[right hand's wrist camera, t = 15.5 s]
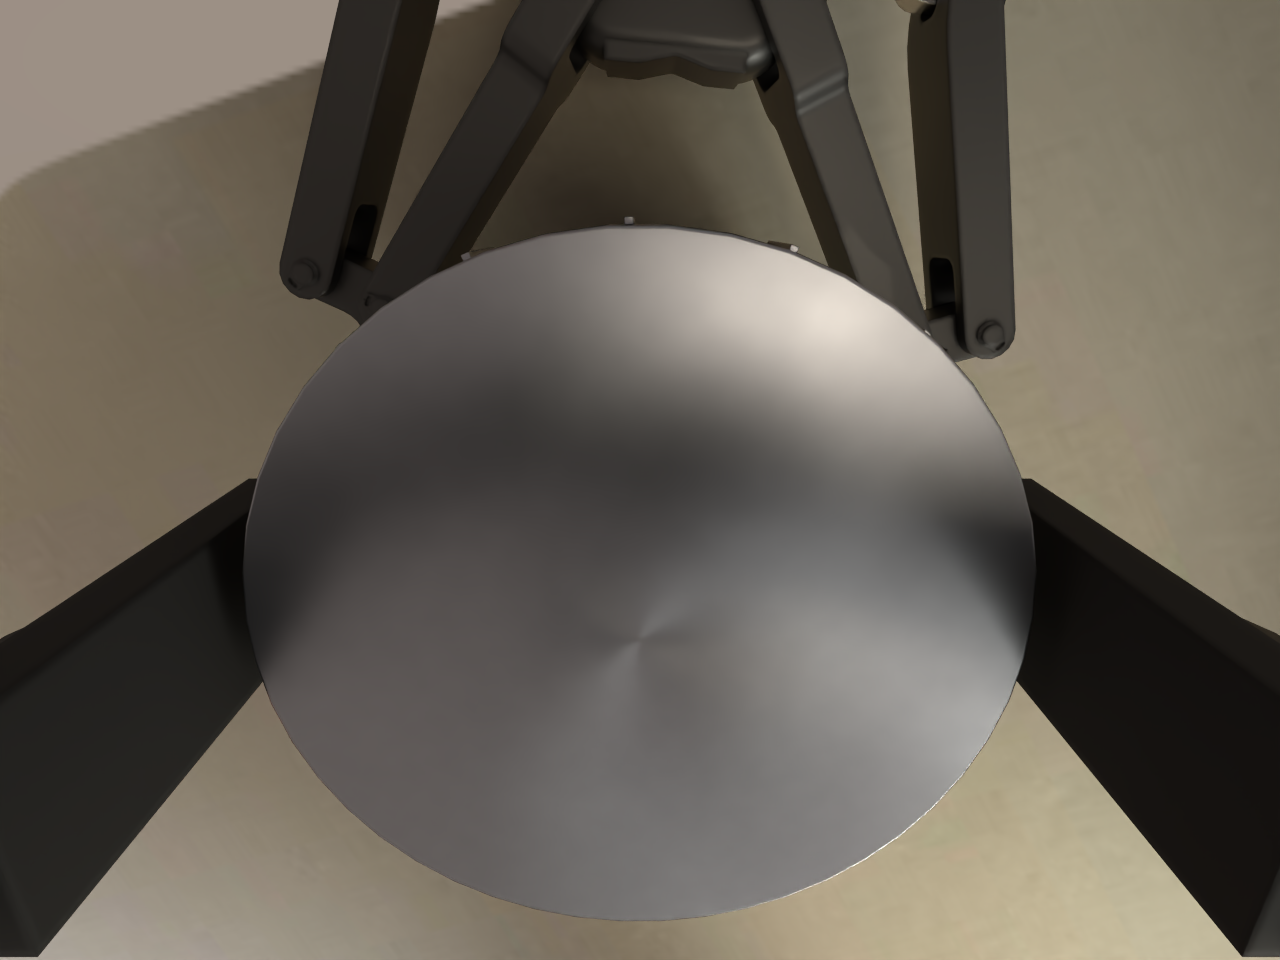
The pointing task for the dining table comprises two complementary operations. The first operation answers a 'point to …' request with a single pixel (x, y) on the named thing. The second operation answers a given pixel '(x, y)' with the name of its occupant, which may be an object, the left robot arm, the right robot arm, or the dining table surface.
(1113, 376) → the dining table surface
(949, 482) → the lid
